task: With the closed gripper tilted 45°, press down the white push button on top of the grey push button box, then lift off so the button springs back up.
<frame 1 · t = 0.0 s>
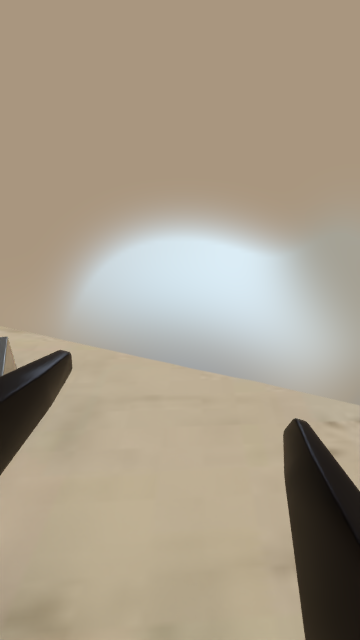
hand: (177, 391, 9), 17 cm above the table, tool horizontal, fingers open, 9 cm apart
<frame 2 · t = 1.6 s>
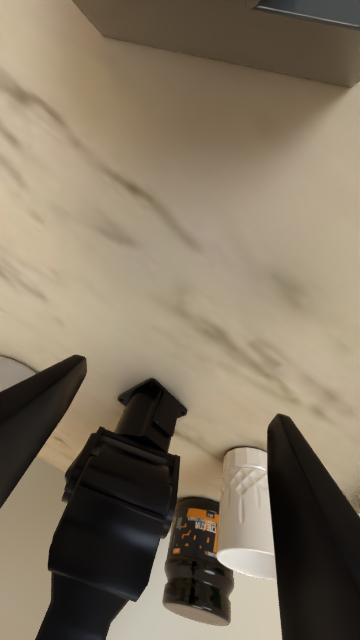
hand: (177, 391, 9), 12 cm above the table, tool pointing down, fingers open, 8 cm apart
cylinder vase: (18, 386, 33), on the table
supplement container: (203, 508, 42), on the table
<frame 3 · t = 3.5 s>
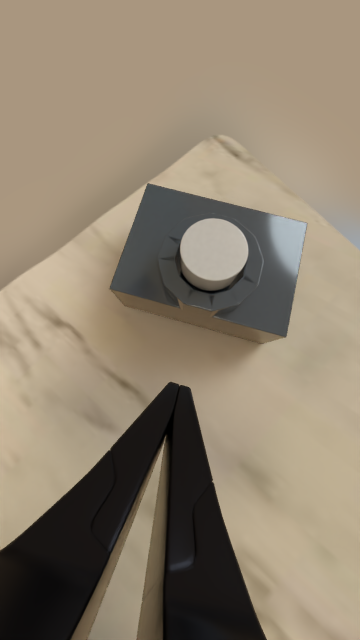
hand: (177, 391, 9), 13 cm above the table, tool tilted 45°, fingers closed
grey push button box: (204, 278, 23), on the table
white push button: (212, 255, 16), point 8 cm above the table, slide at 0.1 cm
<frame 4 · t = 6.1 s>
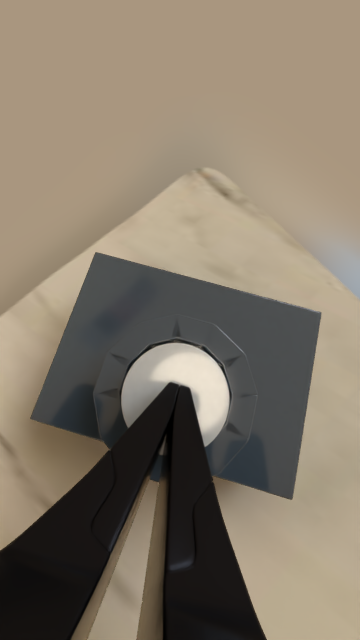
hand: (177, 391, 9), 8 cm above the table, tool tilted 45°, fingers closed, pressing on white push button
grey push button box: (181, 364, 18), on the table
white push button: (175, 394, 10), point 7 cm above the table, slide at -0.3 cm, touching gripper
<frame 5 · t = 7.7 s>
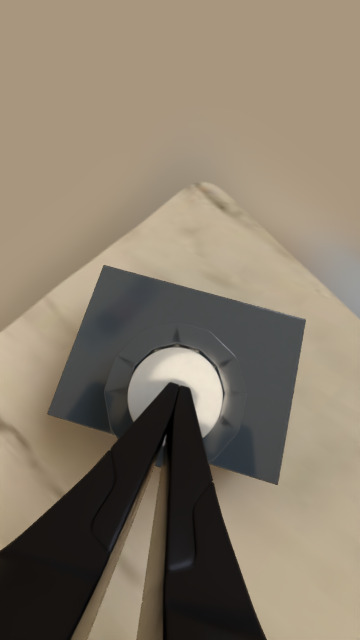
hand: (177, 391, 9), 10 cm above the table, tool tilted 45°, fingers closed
grey push button box: (181, 365, 19), on the table
white push button: (175, 393, 11), point 8 cm above the table, slide at 0.1 cm
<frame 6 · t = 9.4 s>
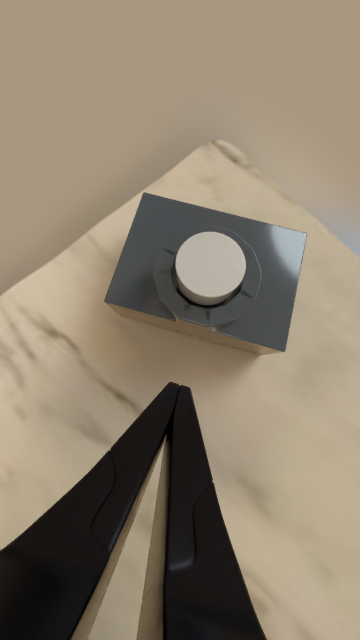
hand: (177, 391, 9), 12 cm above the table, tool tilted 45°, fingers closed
grey push button box: (202, 287, 23), on the table
white push button: (208, 269, 15), point 8 cm above the table, slide at 0.1 cm
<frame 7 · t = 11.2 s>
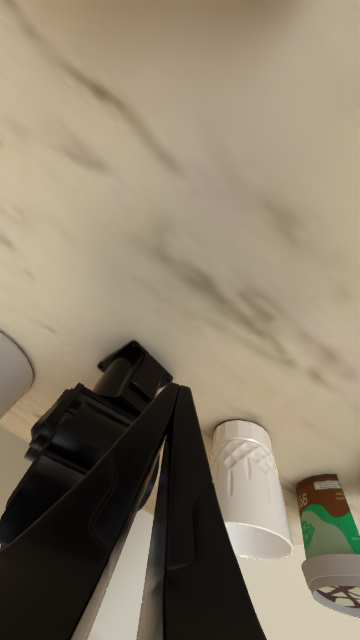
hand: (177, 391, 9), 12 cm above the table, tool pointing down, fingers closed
food container: (310, 489, 33), on the table
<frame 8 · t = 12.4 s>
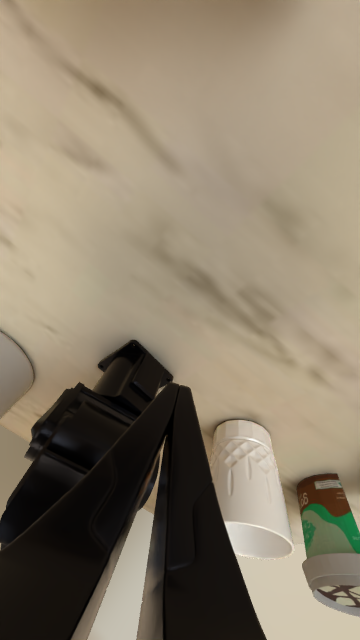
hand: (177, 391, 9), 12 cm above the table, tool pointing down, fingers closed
food container: (311, 488, 33), on the table
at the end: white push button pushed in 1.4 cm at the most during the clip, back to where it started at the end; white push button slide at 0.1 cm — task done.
